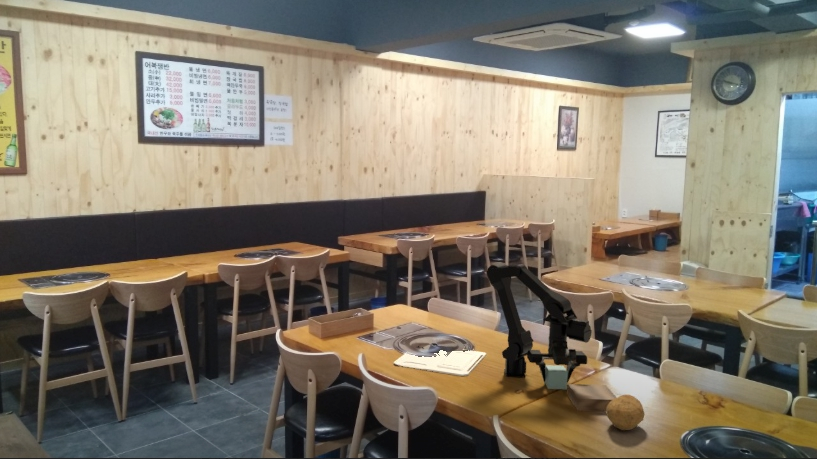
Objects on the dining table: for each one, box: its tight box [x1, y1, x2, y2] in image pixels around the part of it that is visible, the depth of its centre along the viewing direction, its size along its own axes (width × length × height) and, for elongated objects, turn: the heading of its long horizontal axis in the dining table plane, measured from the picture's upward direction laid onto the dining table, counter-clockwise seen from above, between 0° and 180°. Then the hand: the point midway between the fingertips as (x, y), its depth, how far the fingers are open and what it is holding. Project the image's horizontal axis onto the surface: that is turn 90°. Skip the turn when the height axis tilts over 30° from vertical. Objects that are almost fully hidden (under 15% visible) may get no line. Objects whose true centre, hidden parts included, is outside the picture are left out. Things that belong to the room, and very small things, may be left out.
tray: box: [393, 349, 487, 377], centre depth 222 cm, size 28×28×2 cm
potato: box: [605, 393, 646, 431], centre depth 166 cm, size 10×14×8 cm
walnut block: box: [567, 383, 617, 412], centre depth 183 cm, size 12×12×4 cm
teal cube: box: [544, 364, 568, 390], centre depth 197 cm, size 6×6×6 cm
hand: (555, 381), depth 197 cm, fingers open, 7 cm apart
